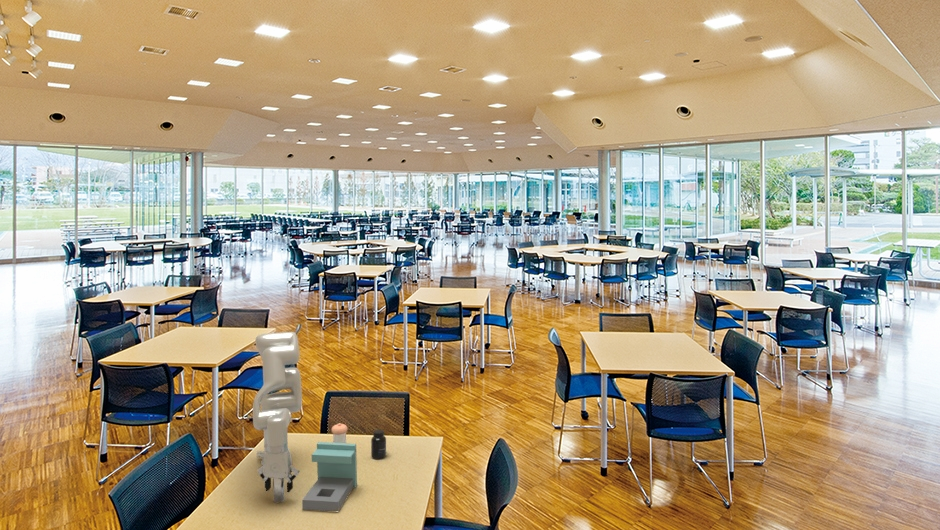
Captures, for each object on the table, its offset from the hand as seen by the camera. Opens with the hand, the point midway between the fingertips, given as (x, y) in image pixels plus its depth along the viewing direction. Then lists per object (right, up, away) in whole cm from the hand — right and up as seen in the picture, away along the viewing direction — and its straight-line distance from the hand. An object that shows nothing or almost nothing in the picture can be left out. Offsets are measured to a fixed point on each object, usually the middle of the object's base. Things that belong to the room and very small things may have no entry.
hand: (278, 489), depth 210 cm
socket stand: (+19, -4, +3) cm, 20 cm away
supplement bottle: (+33, -1, +38) cm, 50 cm away
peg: (0, -4, 0) cm, 4 cm away
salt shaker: (+17, -2, +30) cm, 34 cm away
